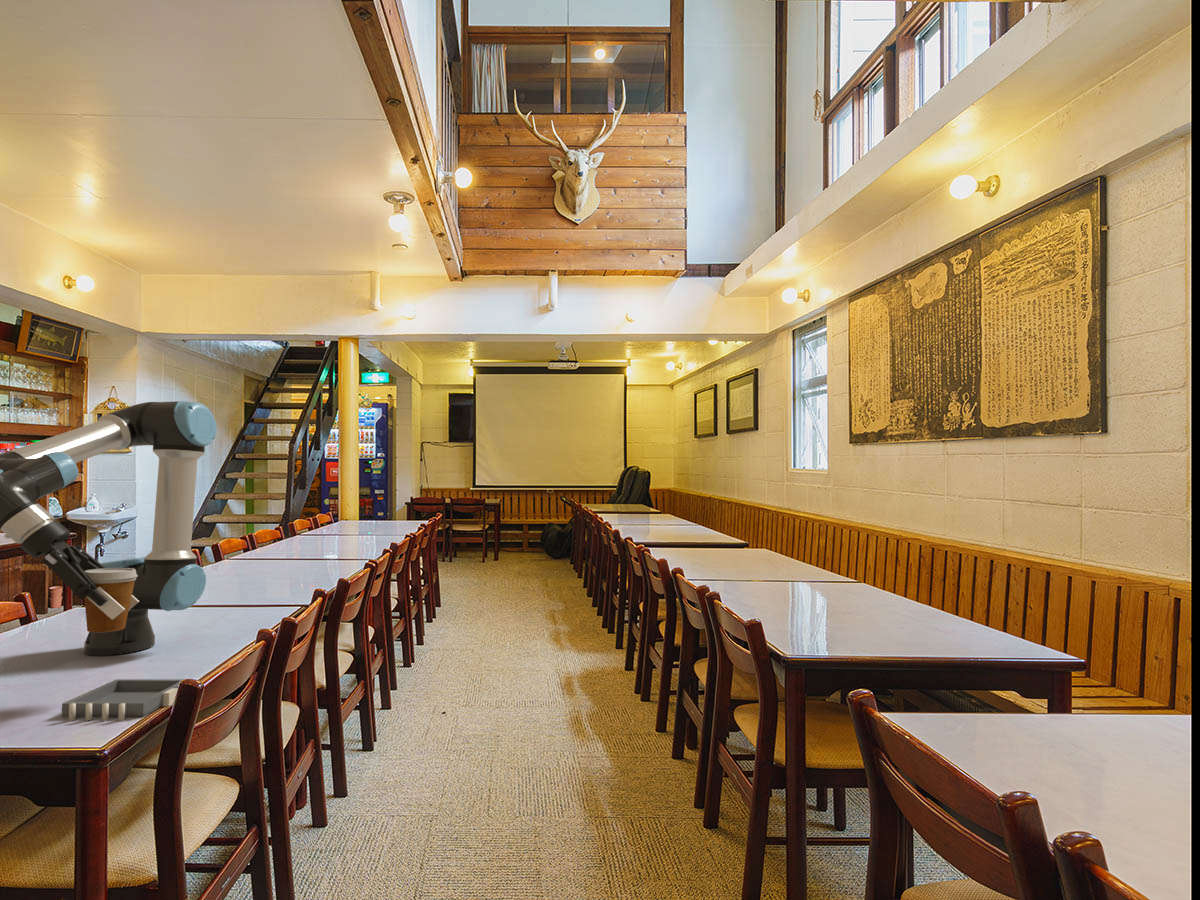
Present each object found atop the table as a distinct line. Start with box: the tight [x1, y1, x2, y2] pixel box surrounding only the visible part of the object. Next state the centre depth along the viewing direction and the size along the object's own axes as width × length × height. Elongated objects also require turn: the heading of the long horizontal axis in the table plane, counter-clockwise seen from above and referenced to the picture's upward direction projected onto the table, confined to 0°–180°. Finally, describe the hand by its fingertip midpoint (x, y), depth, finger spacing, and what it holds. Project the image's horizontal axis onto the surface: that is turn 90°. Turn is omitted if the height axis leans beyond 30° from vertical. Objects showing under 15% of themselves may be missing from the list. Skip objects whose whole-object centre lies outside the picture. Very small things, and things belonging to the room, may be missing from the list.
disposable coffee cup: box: [84, 568, 138, 633], centre depth 140 cm, size 10×10×12 cm
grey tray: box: [61, 678, 186, 722], centre depth 135 cm, size 17×16×3 cm
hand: (126, 610), depth 140 cm, fingers closed on disposable coffee cup, 9 cm apart
